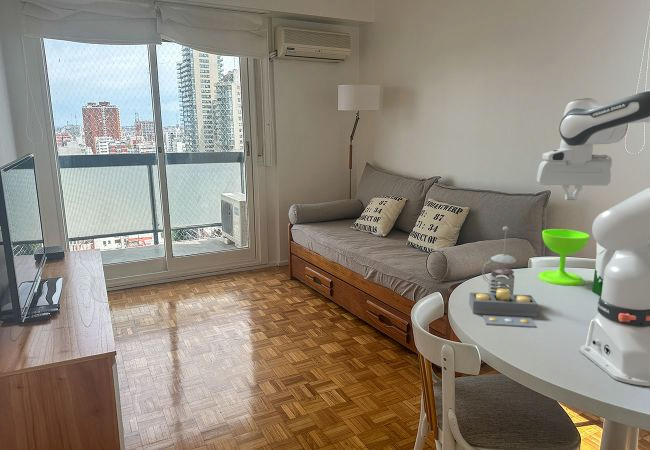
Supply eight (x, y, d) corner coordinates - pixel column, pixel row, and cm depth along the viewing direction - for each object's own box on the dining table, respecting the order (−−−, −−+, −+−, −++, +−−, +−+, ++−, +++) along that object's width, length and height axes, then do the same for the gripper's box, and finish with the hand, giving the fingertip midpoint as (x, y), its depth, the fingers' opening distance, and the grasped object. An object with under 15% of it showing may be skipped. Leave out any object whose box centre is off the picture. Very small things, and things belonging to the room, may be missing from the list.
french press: (511, 305, 148) (517, 230, 143) (476, 297, 155) (480, 226, 150) (519, 296, 156) (525, 225, 151) (485, 289, 163) (490, 221, 158)
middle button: (510, 302, 141) (511, 293, 141) (497, 301, 142) (498, 292, 141) (507, 297, 145) (508, 288, 145) (494, 297, 146) (495, 288, 145)
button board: (545, 327, 131) (546, 315, 130) (477, 324, 134) (478, 311, 133) (529, 307, 147) (530, 295, 146) (469, 303, 150) (469, 292, 149)
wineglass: (580, 275, 179) (585, 230, 176) (588, 287, 164) (593, 239, 161) (536, 271, 184) (540, 228, 181) (539, 283, 170) (544, 236, 166)
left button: (489, 307, 143) (490, 298, 142) (476, 306, 143) (477, 297, 143) (487, 302, 147) (487, 293, 146) (474, 302, 147) (475, 293, 147)
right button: (531, 309, 141) (532, 300, 140) (517, 308, 141) (518, 299, 141) (527, 304, 145) (528, 295, 144) (514, 304, 145) (515, 295, 145)
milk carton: (600, 299, 153) (607, 241, 149) (587, 290, 162) (594, 235, 158) (627, 299, 153) (635, 242, 149) (613, 290, 161) (620, 236, 157)
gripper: (607, 154, 139) (602, 198, 141) (537, 154, 142) (533, 197, 145) (617, 155, 132) (611, 201, 135) (543, 155, 136) (539, 200, 138)
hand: (570, 199), depth 140 cm, fingers closed
